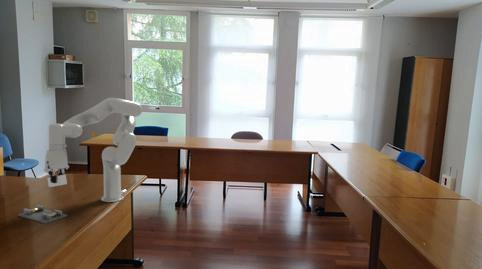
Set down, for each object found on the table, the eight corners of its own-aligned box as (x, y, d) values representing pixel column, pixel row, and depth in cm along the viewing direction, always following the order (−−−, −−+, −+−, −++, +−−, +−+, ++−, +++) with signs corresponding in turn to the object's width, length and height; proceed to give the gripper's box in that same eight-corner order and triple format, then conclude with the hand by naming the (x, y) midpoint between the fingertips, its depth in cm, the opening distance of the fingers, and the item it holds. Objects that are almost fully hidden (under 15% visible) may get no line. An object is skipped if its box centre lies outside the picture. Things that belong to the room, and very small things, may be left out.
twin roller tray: (37, 209, 182) (37, 204, 181) (62, 216, 173) (62, 211, 173) (23, 213, 175) (23, 208, 175) (48, 220, 167) (48, 215, 167)
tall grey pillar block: (55, 185, 184) (53, 176, 184) (67, 183, 179) (65, 174, 180) (48, 187, 181) (47, 177, 181) (61, 185, 176) (59, 175, 176)
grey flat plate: (40, 209, 184) (40, 207, 184) (67, 216, 175) (67, 215, 175) (18, 215, 174) (18, 214, 174) (45, 223, 165) (45, 222, 164)
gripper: (66, 145, 188) (66, 178, 189) (36, 148, 173) (37, 184, 175) (75, 146, 184) (75, 180, 186) (46, 149, 169) (46, 186, 171)
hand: (57, 181), depth 180 cm, fingers closed on tall grey pillar block, 3 cm apart
